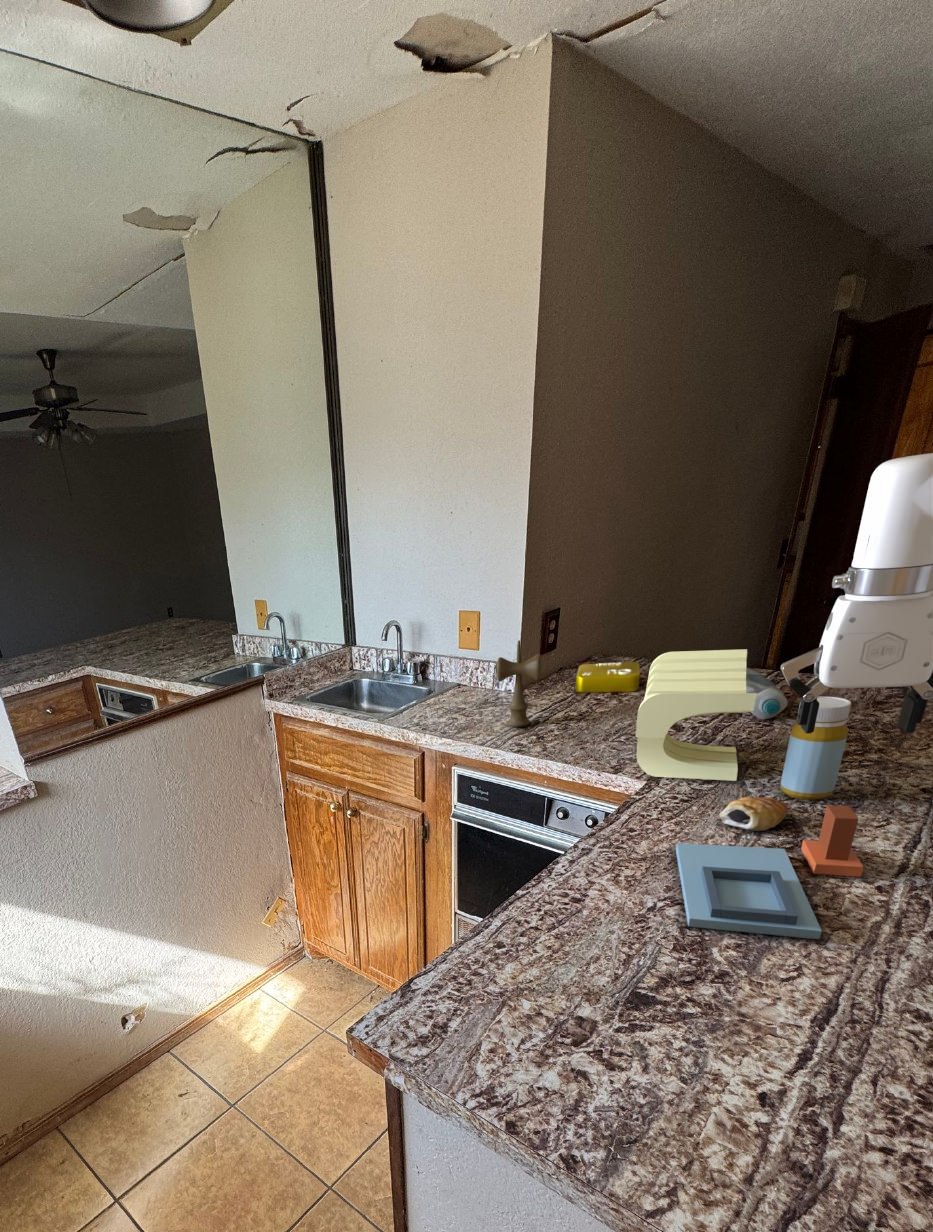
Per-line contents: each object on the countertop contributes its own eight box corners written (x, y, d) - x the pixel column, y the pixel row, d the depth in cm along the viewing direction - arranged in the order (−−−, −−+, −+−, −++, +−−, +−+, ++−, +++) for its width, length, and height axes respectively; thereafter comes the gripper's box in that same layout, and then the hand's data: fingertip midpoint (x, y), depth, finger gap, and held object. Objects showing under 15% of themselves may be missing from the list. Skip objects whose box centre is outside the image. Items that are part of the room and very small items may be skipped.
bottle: (778, 798, 105) (796, 707, 98) (780, 782, 110) (797, 695, 103) (833, 803, 101) (855, 709, 94) (832, 786, 106) (854, 696, 99)
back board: (783, 856, 90) (786, 840, 89) (819, 939, 74) (824, 922, 72) (675, 850, 95) (677, 835, 94) (688, 926, 79) (690, 910, 78)
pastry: (755, 805, 104) (760, 783, 102) (800, 819, 98) (805, 796, 96) (714, 821, 101) (718, 799, 99) (757, 837, 95) (762, 814, 93)
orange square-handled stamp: (845, 851, 89) (858, 801, 85) (861, 877, 83) (875, 824, 80) (800, 849, 91) (811, 800, 87) (813, 873, 85) (825, 822, 82)
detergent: (702, 694, 156) (729, 724, 135) (709, 664, 153) (737, 690, 132) (765, 695, 152) (803, 726, 131) (774, 665, 149) (813, 691, 128)
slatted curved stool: (642, 737, 136) (651, 652, 129) (732, 740, 129) (747, 649, 121) (630, 793, 114) (639, 693, 106) (738, 800, 106) (756, 692, 98)
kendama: (539, 728, 151) (541, 641, 142) (496, 730, 154) (495, 644, 145) (540, 720, 156) (542, 635, 147) (498, 722, 159) (497, 639, 150)
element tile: (638, 677, 177) (639, 659, 175) (638, 692, 165) (640, 673, 163) (578, 679, 184) (579, 662, 181) (575, 693, 172) (575, 675, 170)
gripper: (803, 594, 72) (775, 740, 80) (1012, 577, 65) (960, 739, 73) (788, 585, 78) (764, 721, 86) (978, 569, 71) (934, 719, 79)
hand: (854, 729), depth 79 cm, fingers open, 9 cm apart
